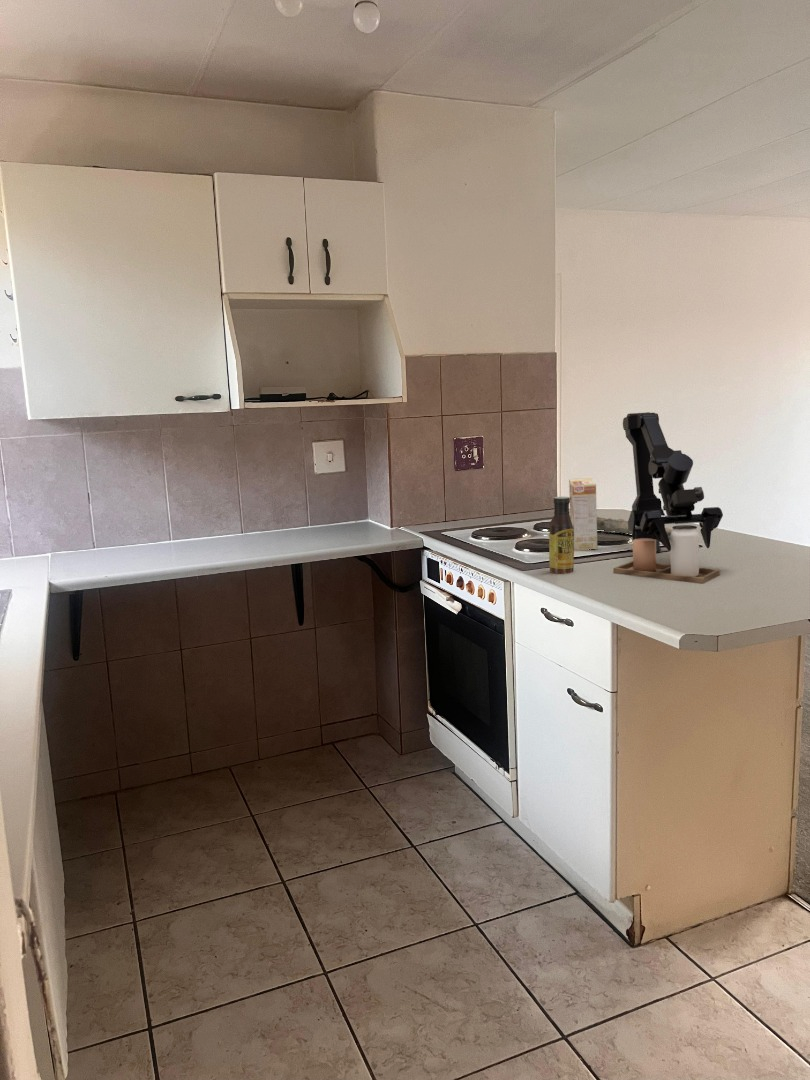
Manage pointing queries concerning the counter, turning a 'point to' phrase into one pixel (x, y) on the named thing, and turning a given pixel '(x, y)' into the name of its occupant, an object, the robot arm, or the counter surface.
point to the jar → (644, 554)
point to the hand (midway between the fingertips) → (689, 548)
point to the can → (685, 550)
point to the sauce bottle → (561, 538)
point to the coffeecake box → (583, 513)
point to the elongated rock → (618, 526)
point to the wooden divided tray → (667, 573)
